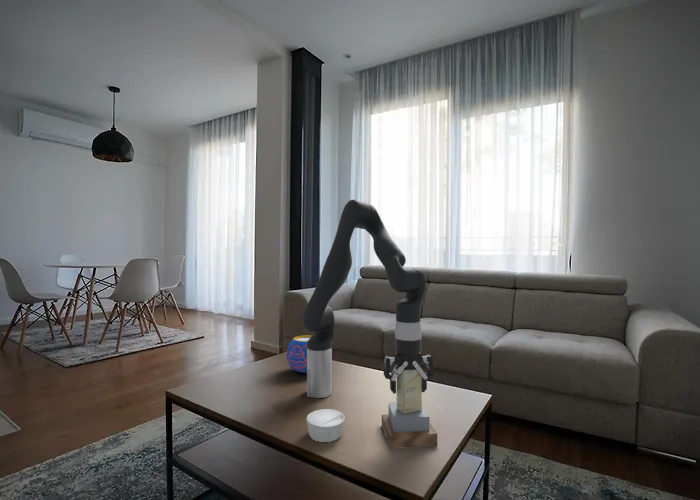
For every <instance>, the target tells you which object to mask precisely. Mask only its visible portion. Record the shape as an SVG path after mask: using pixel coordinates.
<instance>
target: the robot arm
mask: <svg viewBox="0 0 700 500" xmlns="http://www.w3.org/2000/svg"><path fill="white" fill-rule="evenodd" d="M377 210H378V209H377V208H376V207H375V206H374V205H373V204H371V203H369V202H368V203H367V202H365V201H361V200H358V199H350V200H349V201H347V203H346V204H345V205H344V207H343V210H342V212H341V215H340V219H339V223H338V226H337V229H336V232H335V236H334V239H333V243H332V244H331V248H330V250H329V253H328V255H327V258H326V260H325V262H324V266H323V267H322V271H321V274H320V275H319V278H318V281H317V282H316V285H315V288H314V290H313V293H312V295H311V296H310V299H309V301H308V302H307V305H306V307H305V308H304V311H303V314H302V319H301V320H302V325H303V328H304V329H305V330H306V331H307V332H313V333H312V335H313V336H312V337H311V338H310V339H309V340H308V341H307V373H306V397H307V398H313V399H314V398H315V399H324V398H327V397H330V396H331V395H332V393H333V389H332V388H333V387H332V385H333V384H332V383H333V382H332V379H333V378H332V377H333V376H332V375H333V372H332V368H333V367H332V364H333V363H332V361H333V360H332V359H333V358H332V355H333V354H332V352H333V351H332V350H333V349H332V347H333V346H332V344H333V341H334V339H335V338H334V337H335V314H334V310H333V308H332V307H331V306H330V305H328V304H329V302H330V300H331V299H332V298H333V297H334V296H335V295H336V294H337V292H338V291H339V290H340V289H341V288H342V286H343V285H344V284H345V282H346V281H347V278H348V276H349V274H350V272H351V268H352V265H353V263H352V262H353V258H352V256H353V255H352V252H351V238H352V237H353V233H354V230H355V228H356V229H362V230H365V231H366V232H367V233H368V234H369V235H370V236H371V238H372V240H373V244H372V245H373V251H374V253H375V255H376V257H377V258H378V260H379V261H380V263H381V264H382V265H383V267H384V269H385V273H386V276H387V279H388V283H389V285H390V286H391V288H392V290H394V291H396V292H398V293H403V294H404V293H406V294H405V297H404V298H403V299H401V300H399V301H397V302H396V305H395V328H394V331H395V332H394V335H395V338H394V339H395V340H394V341H395V342H394V343H395V344H394V345H395V346H394V347H395V350H394V351H395V353H394V356H393V357H392V356H388V355H385V356H384V358H383V360H384V361H383V376H384V378H385V379H386V380H389V390H390V391H391V392H392V393H393V394H396V395H397V377H398V375H400V374H401V372H402V371H403V370H417V371H418V372H419V373H420V375H421V376H422V393H425V392H426V391H427V388H428V379H429V378H433V377H434V363H433V357H432V356H431V355H430V354H425V355H423V354H422V325H421V324H422V323H421V306H422V302H423V299H424V295H425V290H426V285H427V278H426V275H425V273H424V271H423V270H422V269H421V268H418V267H405V268H404V266H405V264H406V261H407V260H406V256H405V254H404V252H402V250H401V249H400V248H399V246H398V245H397V244H396V243H395V241H394V240H393V239H392V237H391V235H390V234H389V232H388V230H387V228H386V227H385V224H384V222H383V220H382V218H381V216H380V214H379V212H378V211H377ZM423 362H424V363H425V364H426V367H425V368H426V371H425V372H424V370H423V369H422V367H421V364H422V363H423ZM393 363H395V364H396V365H395V366H394V368H393V370H392V371H391V372H390V370H391V368H390V367H391V366H392V365H393ZM397 367H398V370H397Z"/></svg>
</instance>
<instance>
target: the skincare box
mask: <svg viewBox="0 0 700 500" xmlns="http://www.w3.org/2000/svg"><path fill="white" fill-rule="evenodd" d="M397 370H398V367H397ZM422 395H423V392H422V376H421V375H420V373H419V372H418V371H417V370H403V371H402V372H401V374H400V375H398V377H397V378H396V402H397V409H398V410H400V411H401V412H403V413H404V414H406V413H411V412H416V411H421V410H422V405H423V403H422V401H423V400H422V399H423V398H422V397H423V396H422Z"/></svg>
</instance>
